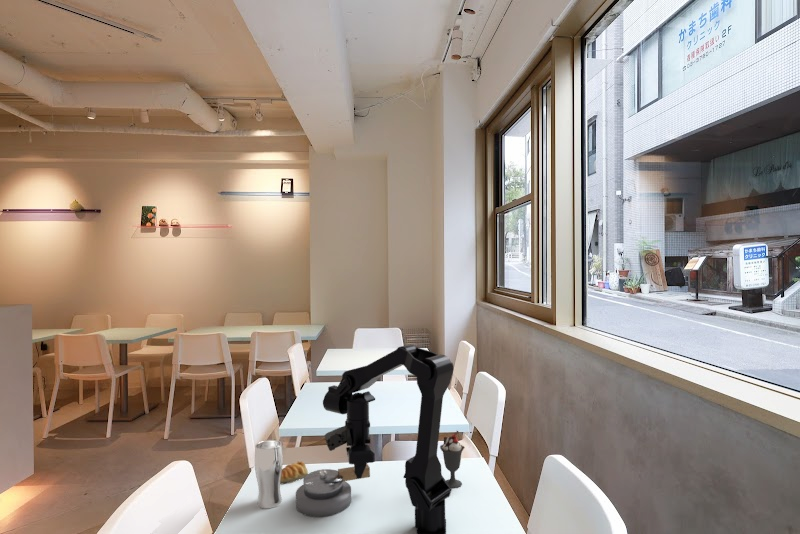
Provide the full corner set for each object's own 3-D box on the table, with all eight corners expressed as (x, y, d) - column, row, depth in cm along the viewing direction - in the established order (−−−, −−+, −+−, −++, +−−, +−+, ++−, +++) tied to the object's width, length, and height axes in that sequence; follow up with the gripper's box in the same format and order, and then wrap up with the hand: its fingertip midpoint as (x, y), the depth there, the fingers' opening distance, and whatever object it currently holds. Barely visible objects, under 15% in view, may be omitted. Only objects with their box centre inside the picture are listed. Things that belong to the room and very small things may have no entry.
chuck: (306, 502, 114) (305, 482, 114) (301, 484, 123) (301, 465, 123) (373, 490, 119) (373, 471, 119) (364, 473, 128) (364, 456, 128)
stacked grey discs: (356, 489, 126) (355, 478, 126) (344, 518, 112) (344, 505, 112) (305, 488, 128) (305, 477, 128) (288, 516, 114) (287, 503, 114)
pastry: (280, 488, 129) (280, 474, 129) (269, 480, 134) (268, 467, 134) (310, 477, 135) (309, 464, 135) (298, 470, 140) (297, 457, 140)
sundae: (465, 490, 124) (463, 434, 124) (439, 489, 126) (438, 433, 125) (465, 479, 131) (464, 425, 131) (441, 477, 132) (440, 424, 132)
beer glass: (249, 506, 119) (248, 447, 119) (269, 493, 125) (267, 437, 125) (270, 512, 116) (268, 451, 116) (289, 499, 122) (287, 441, 122)
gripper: (325, 409, 129) (326, 466, 128) (327, 431, 110) (328, 498, 110) (365, 406, 131) (366, 463, 130) (374, 427, 112) (375, 493, 112)
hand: (358, 478), depth 120 cm, fingers closed
